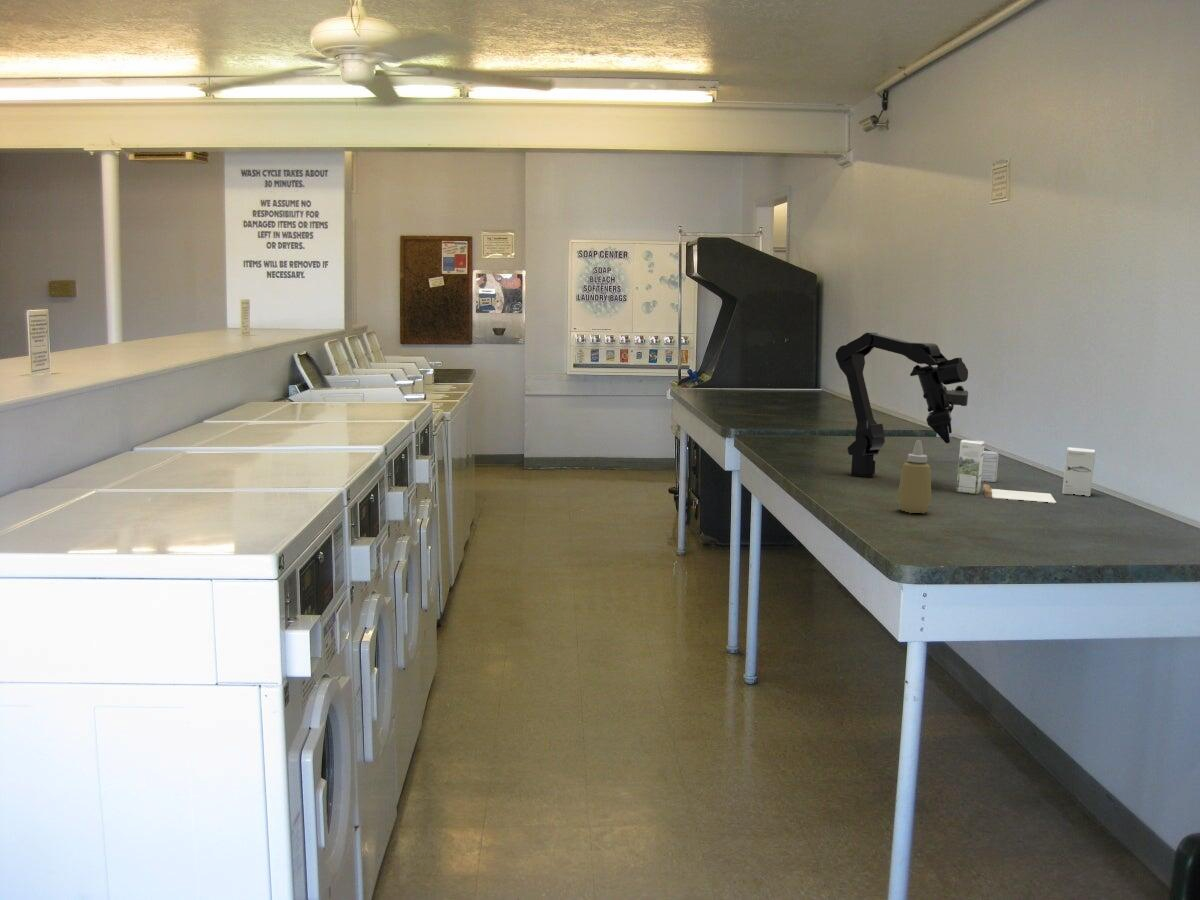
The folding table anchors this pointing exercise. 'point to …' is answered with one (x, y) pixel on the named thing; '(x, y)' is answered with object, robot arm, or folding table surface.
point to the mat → (1022, 496)
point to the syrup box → (970, 466)
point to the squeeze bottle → (915, 482)
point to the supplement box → (1078, 471)
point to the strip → (987, 490)
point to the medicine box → (989, 466)
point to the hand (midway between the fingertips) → (949, 438)
